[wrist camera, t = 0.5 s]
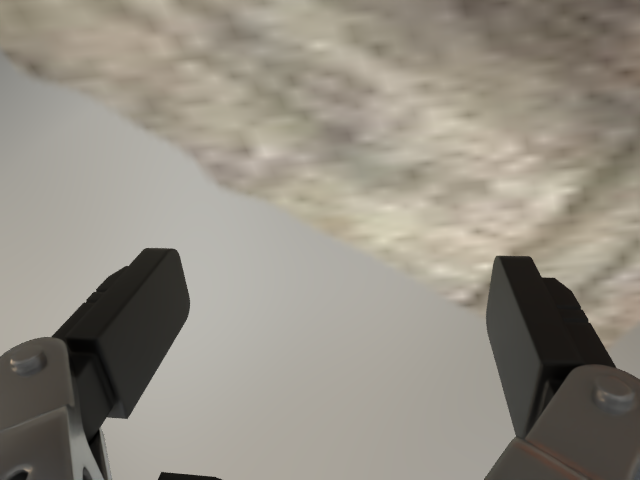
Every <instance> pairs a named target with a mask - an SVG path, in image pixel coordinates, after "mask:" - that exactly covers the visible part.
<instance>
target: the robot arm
mask: <svg viewBox="0 0 640 480" xmlns="http://www.w3.org/2000/svg"><path fill="white" fill-rule="evenodd" d="M189 309H190V298H189V293H188V289H187V285H186V281H185V277H184V272H183V268H182V264H181V260H180V256H179V253H178V252H177V250H175V249H167V248H146V249H144V250H143V251H142V252H141V253H140V254H139V255H138V256H137V257H136V258H135V260H134V261H133V262H132V263H131V264H130V265H129V266H125V267H124V268H122V269H120V270H119V271H117V272H115V273H114V274H112V275H110V276H109V277H108V278H107V279H106V280H105V281H104V282H103V283H102V284H101V285H100V286H99V287H98V288H97V289H96V292H94V293H92V295H91V296H90V297H89V298H88V299H87V302H86V303H83V304H82V305H81V306H80V307H79V308H78V310H77V311H75V313H74V314H73V315H72V316H71V317H70V318H69V319H68V320H67V321H66V322H65V323H64V324H63V325H62V326H61V327H60V329H58V331H57V332H56V333H55V334H54V335H53V336H52V337H43V338H37V339H33V340H29V341H26V342H24V343H21V344H19V345H17V346H15V347H13V348H12V349H10V350H9V351H7V352H5V353H4V354H3V355H2V356H1V357H0V480H112V476H111V471H110V466H109V460H108V454H107V449H106V444H105V438H104V434H103V431H102V429H101V425H102V424H103V422H104V420H105V419H106V417H111V418H124V419H128V417H129V416H130V414H131V412H132V411H133V409H134V407H135V405H136V404H137V402H138V400H139V399H140V397H141V395H142V394H143V392H144V390H145V389H146V387H147V385H148V384H149V382H150V380H151V379H152V377H153V375H154V374H155V372H156V370H157V369H158V367H159V365H160V364H161V362H162V360H163V358H164V357H165V355H166V354H167V352H168V350H169V348H170V347H171V345H172V343H173V342H174V340H175V338H176V337H177V335H178V333H179V332H180V330H181V328H182V327H183V325H184V323H185V322H186V320H187V317H188V314H189ZM486 324H487V332H488V336H489V340H490V344H491V347H492V351H493V354H494V358H495V362H496V365H497V369H498V372H499V376H500V379H501V383H502V387H503V391H504V394H505V398H506V401H507V405H508V408H509V412H510V416H511V419H512V423H513V427H514V430H515V434H516V437H515V438H514V439H513V440H512V441H511V442H510V443H509V445H508V446H507V448H506V449H505V451H504V452H503V453H502V455H501V456H500V457H499V459H498V460H497V462H496V463H495V465H494V466H493V468H492V469H491V471H490V472H489V473H488V475H487V476H486V477H485V479H484V480H640V379H638V378H636V377H635V376H633V375H631V374H629V373H627V372H625V371H622V370H620V369H617V368H616V366H615V365H614V363H613V361H612V359H611V358H610V356H609V354H608V352H607V351H606V349H605V347H604V346H603V344H602V342H601V341H600V339H599V337H598V335H597V334H596V332H595V330H594V329H593V327H592V325H591V323H588V318H587V317H586V315H585V313H584V311H583V310H581V306H580V305H579V303H578V301H577V299H576V298H575V296H574V294H573V293H572V291H571V290H569V289H568V288H567V287H566V286H564V285H563V284H562V283H560V282H559V281H558V280H557V279H555V278H542V277H541V275H540V273H539V271H538V269H537V268H536V266H535V264H534V262H533V260H532V258H531V257H529V256H496V258H495V260H494V264H493V270H492V276H491V283H490V290H489V296H488V303H487V311H486ZM158 480H222V479H219V478H216V477H208V476H198V475H188V474H176V473H166V472H165V473H164V472H161V474H160V476H159V478H158Z"/></svg>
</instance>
